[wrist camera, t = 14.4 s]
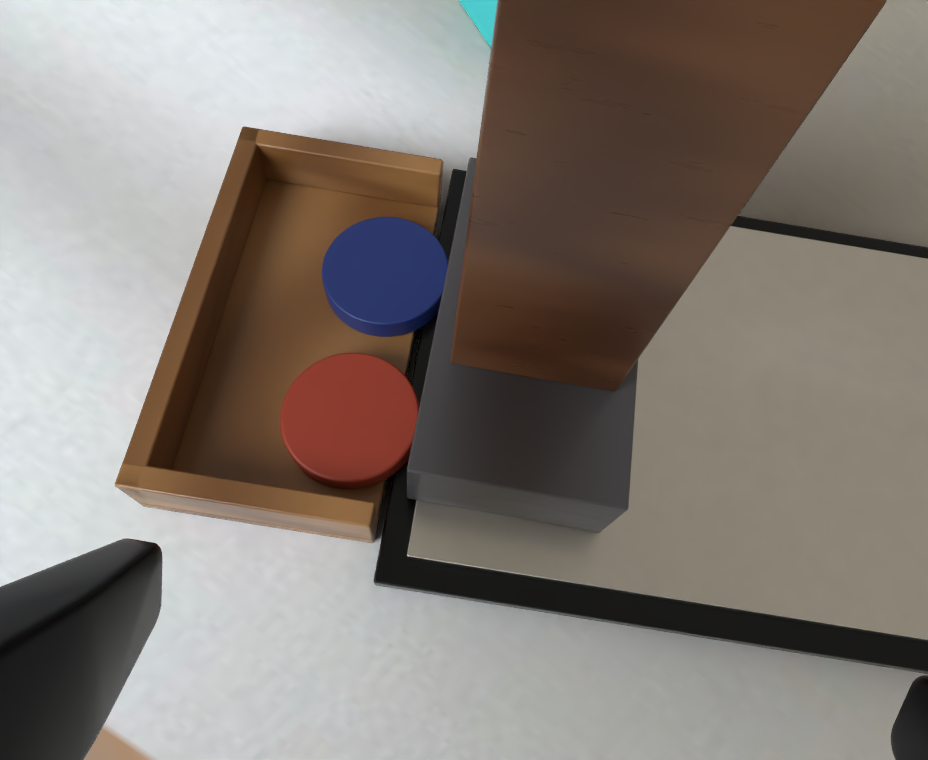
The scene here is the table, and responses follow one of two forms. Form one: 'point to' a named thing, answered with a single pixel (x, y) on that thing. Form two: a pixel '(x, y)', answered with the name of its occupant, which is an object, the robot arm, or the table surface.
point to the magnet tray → (268, 334)
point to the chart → (482, 16)
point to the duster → (599, 229)
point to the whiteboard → (737, 465)
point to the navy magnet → (385, 276)
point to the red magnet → (350, 420)
